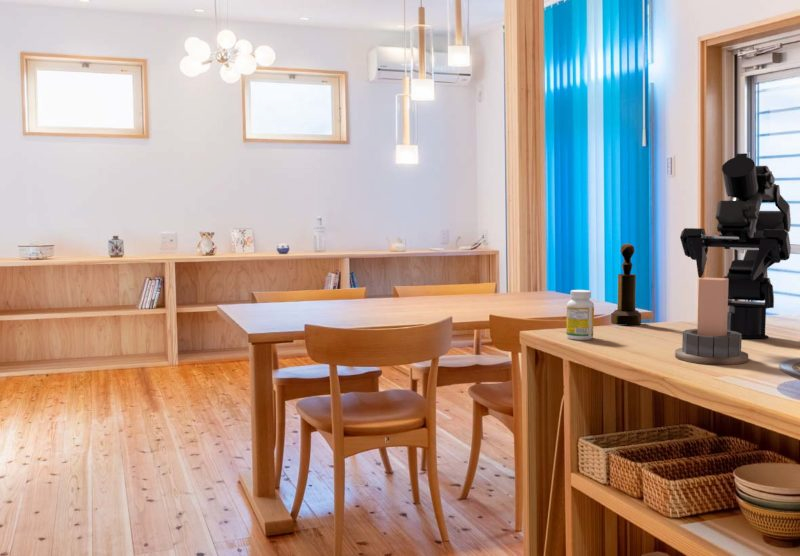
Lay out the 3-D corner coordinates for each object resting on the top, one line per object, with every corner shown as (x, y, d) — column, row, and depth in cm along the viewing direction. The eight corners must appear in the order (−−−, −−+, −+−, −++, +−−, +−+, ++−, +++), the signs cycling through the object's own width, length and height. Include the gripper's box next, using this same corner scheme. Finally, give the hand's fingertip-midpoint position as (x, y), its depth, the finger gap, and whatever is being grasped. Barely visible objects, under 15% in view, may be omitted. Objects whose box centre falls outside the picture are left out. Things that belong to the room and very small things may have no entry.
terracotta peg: (702, 349, 149) (704, 277, 148) (726, 352, 147) (728, 278, 145) (696, 353, 146) (698, 279, 144) (720, 355, 143) (722, 280, 142)
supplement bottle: (580, 341, 164) (581, 292, 164) (560, 337, 169) (561, 290, 168) (599, 338, 168) (599, 291, 167) (578, 335, 172) (579, 288, 171)
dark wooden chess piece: (621, 320, 192) (622, 242, 191) (646, 323, 188) (648, 243, 186) (605, 323, 188) (607, 243, 186) (631, 326, 183) (633, 244, 181)
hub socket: (733, 352, 152) (734, 327, 152) (759, 365, 140) (760, 338, 140) (666, 351, 152) (667, 327, 152) (687, 364, 140) (688, 338, 140)
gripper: (684, 186, 160) (665, 246, 152) (790, 184, 149) (775, 249, 141) (694, 226, 167) (676, 285, 159) (796, 227, 156) (782, 291, 148)
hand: (725, 277), depth 151 cm, fingers open, 9 cm apart
